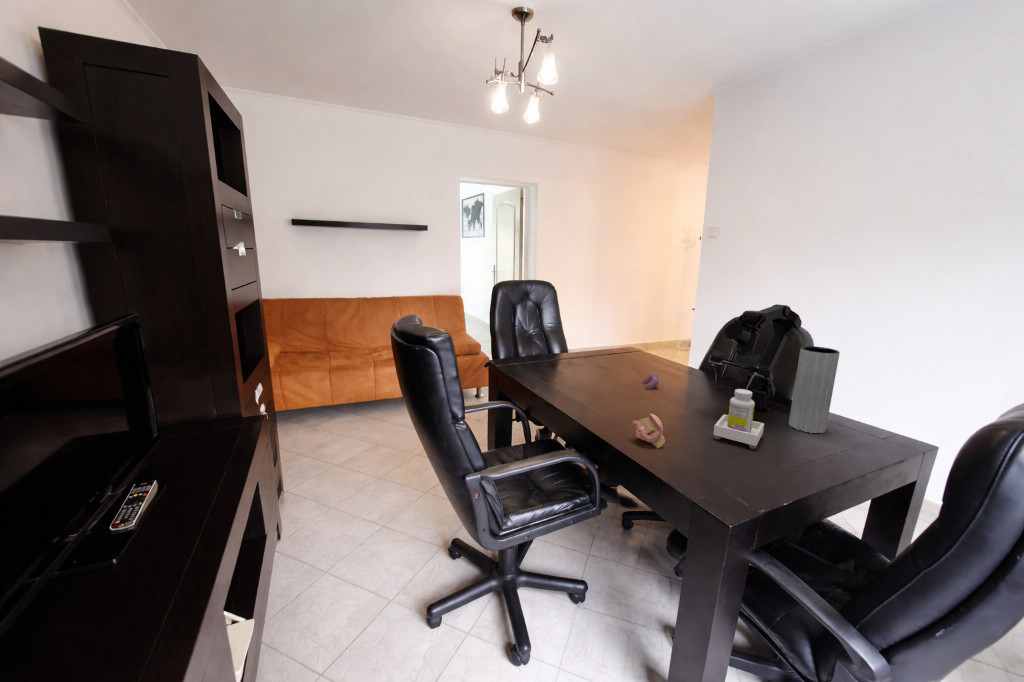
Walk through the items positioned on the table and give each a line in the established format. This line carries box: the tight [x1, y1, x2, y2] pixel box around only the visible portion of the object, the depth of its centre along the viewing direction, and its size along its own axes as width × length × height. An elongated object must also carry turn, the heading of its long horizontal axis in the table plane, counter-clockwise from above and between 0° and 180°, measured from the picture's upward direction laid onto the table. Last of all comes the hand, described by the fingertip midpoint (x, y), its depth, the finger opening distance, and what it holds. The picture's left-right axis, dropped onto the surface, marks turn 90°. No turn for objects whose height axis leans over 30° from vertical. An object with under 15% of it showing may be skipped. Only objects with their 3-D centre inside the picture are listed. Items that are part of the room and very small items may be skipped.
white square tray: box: [713, 413, 765, 450], centre depth 124 cm, size 12×12×5 cm
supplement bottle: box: [727, 388, 755, 433], centre depth 123 cm, size 7×7×13 cm
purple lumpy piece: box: [642, 372, 661, 390], centre depth 174 cm, size 10×5×7 cm, turn 169°
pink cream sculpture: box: [631, 413, 666, 449], centre depth 122 cm, size 9×10×10 cm
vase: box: [788, 345, 841, 434], centre depth 130 cm, size 10×10×27 cm
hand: (731, 389), depth 137 cm, fingers open, 9 cm apart
